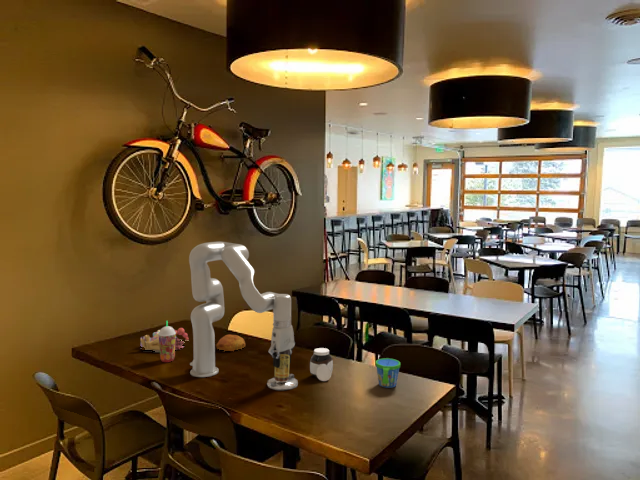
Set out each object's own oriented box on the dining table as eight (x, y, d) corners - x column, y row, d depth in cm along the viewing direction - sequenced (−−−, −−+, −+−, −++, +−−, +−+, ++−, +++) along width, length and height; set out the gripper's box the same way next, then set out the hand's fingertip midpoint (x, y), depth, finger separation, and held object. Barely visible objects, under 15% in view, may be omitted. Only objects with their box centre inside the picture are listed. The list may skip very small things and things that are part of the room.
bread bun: (230, 346, 266) (229, 332, 266) (250, 347, 257) (249, 333, 257) (210, 352, 254) (209, 337, 255) (230, 353, 245) (229, 338, 245)
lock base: (260, 385, 202) (260, 379, 202) (281, 376, 213) (281, 371, 213) (283, 393, 194) (283, 386, 194) (304, 383, 205) (304, 377, 205)
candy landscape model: (178, 354, 246) (178, 336, 246) (133, 353, 246) (133, 336, 246) (192, 340, 271) (191, 324, 270) (150, 340, 271) (150, 324, 271)
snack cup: (395, 393, 194) (396, 369, 193) (370, 390, 198) (371, 366, 197) (403, 380, 209) (404, 358, 208) (380, 377, 213) (380, 355, 212)
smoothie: (155, 362, 232) (154, 321, 231) (166, 357, 240) (165, 318, 239) (168, 364, 229) (168, 323, 228) (180, 359, 237) (179, 319, 236)
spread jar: (323, 370, 221) (323, 346, 220) (341, 377, 213) (341, 351, 212) (304, 377, 213) (304, 351, 212) (322, 383, 205) (322, 357, 204)
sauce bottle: (274, 382, 200) (274, 336, 199) (274, 377, 206) (274, 332, 205) (289, 382, 201) (289, 336, 199) (289, 376, 207) (289, 332, 205)
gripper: (274, 328, 193) (274, 372, 194) (302, 321, 206) (301, 361, 208) (261, 325, 197) (261, 368, 199) (289, 318, 211) (288, 358, 212)
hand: (282, 364), depth 203 cm, fingers closed on sauce bottle, 6 cm apart
